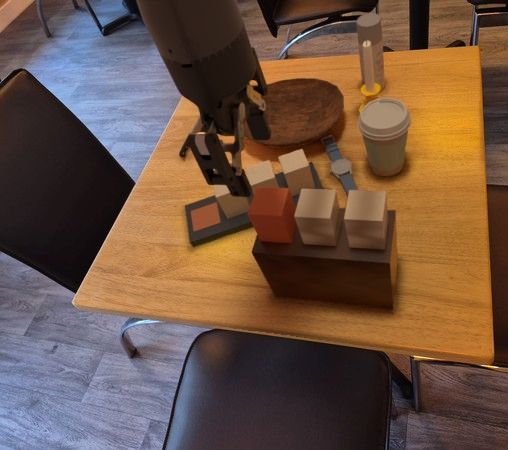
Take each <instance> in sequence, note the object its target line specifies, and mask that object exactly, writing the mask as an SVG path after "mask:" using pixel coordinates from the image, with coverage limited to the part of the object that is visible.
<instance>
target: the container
mask: <svg viewBox="0 0 508 450" xmlns="http://www.w3.org/2000/svg"><path fill="white" fill-rule="evenodd" d="M356 30H357V31H356V32H357V33H356V35H357V46H358V54H359V55H358V56H359V66H360V67H359V68H360V77H361V85H362V86H363V85H365V72H364V60H363V43H364V42H365V41H366V40H367V41H370V42H371V48H372V59H373V71H374V83H377V84H379V85H380V87H381V90H380V91H379V93H381V92H382V91H383V90H384V89H385V87H386V82H385V60H384V42H383V41H384V40H383V30H382V17H381V15H379V14H377V13H373V12H372V13H371V12H369V13H365V14H362V15H360V16H359V17H358V18H357V19H356ZM362 86H361V87H362Z"/></svg>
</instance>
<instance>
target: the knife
mask: <svg viewBox="0 0 508 450" xmlns="http://www.w3.org/2000/svg"><path fill="white" fill-rule="evenodd" d="M201 127H202V122H201V118H200V115H199V116H198V117H197V119H196V121H195V123H194V125H193V127H192V129H191V130H190V132H189V134H190V133H198V132H199V131H200V129H201ZM189 149H190V147H189V145H188V142H187V138H186V139H185V141H184V142H183V144H182V146H181V148H180V150H179V153H178V156H179V158H181V159H182V158H186V154H187V152H188V150H189Z"/></svg>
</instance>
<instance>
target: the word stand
mask: <svg viewBox="0 0 508 450" xmlns="http://www.w3.org/2000/svg"><path fill="white" fill-rule="evenodd" d="M346 200H347V201H346V206H345V207H341V206H340V202H339V198H338V193H337V190H336V189H330V188H329V189H325V188H323V189H301V193H300V197H299V201H298V204H297V206H295V208H296V212H295V216H294V217H295V220H296V223H297V225H296V228H295V232H294V236H293V240H292V243H280V242H265V241H260V239H259V237H258V235H257V234H256V236H255V240H254V243H253V246H252V250H251V251H250V252H251V254H252V256H253V259H254V260H255V262H256V264H257V266H258V267H259V269H260V272H261V273H262V275H263V277H264V279H265V280H266V282H267V284H268V286H269V288H270V291H271V292H272V294H273V296H274V297H275V298H281V299H291V300H301V301H307V302H308V301H310V302H320V303H328V304H329V303H330V304H339V305H348V306H357V307H366V308H367V307H368V308H375V309H377V308H378V309H386V310H394V307H395V306H394V305H395V297H396V296H395V295H396V285H397V273H398V263H399V255H398V234H397V232H398V231H397V230H398V229H397V210H394V209H388V197H387V191H386V190H361V189H358V190H349V194H348V195H347V199H346Z"/></svg>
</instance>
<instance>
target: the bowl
mask: <svg viewBox="0 0 508 450" xmlns="http://www.w3.org/2000/svg"><path fill="white" fill-rule="evenodd" d="M266 84H267V83H266ZM267 87H268V95H267V96H263V100H264V101H265V104H266V108H265V111H264V112H265V115H266V118H267V121H268V124H269V127H270V130H271V133H272V134H271V137H270V139H269V140H255V139H253V137H252V135H251V132H250V130H249V127H248V124H247V122H246V121H245V124H244V137H245V138H246V139H247V140H248V141H250V142H253V143H256V144H259V145H261V146H263V147H266V148H267V147H268V148H277V149H287V148H297V147H298V148H299V147H301V146H304V145H308V144H310V143H312V142H316V141H318V140H319V139H321V138H323V137H324V136H326V135H327V134H328V133H329V132H331V131H332V130H333V128H334V127H335V126H336V125H337V122H338V121H339V120H340V118H341V116H342V114H343V111H344V108H345V100H344V99H345V98H344V97H345V96H344V94H343V93H342V91H341V90H340V88H339V87H338V85H336V84H335V83H331V82H330V81H328V80H325V79H319V78H315V77H311V78H309V77H308V78H307V77H306V78H305V77H297V78H288V79H281V80H278V81H277V80H276V81H275V82H271V83H268V84H267Z"/></svg>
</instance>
